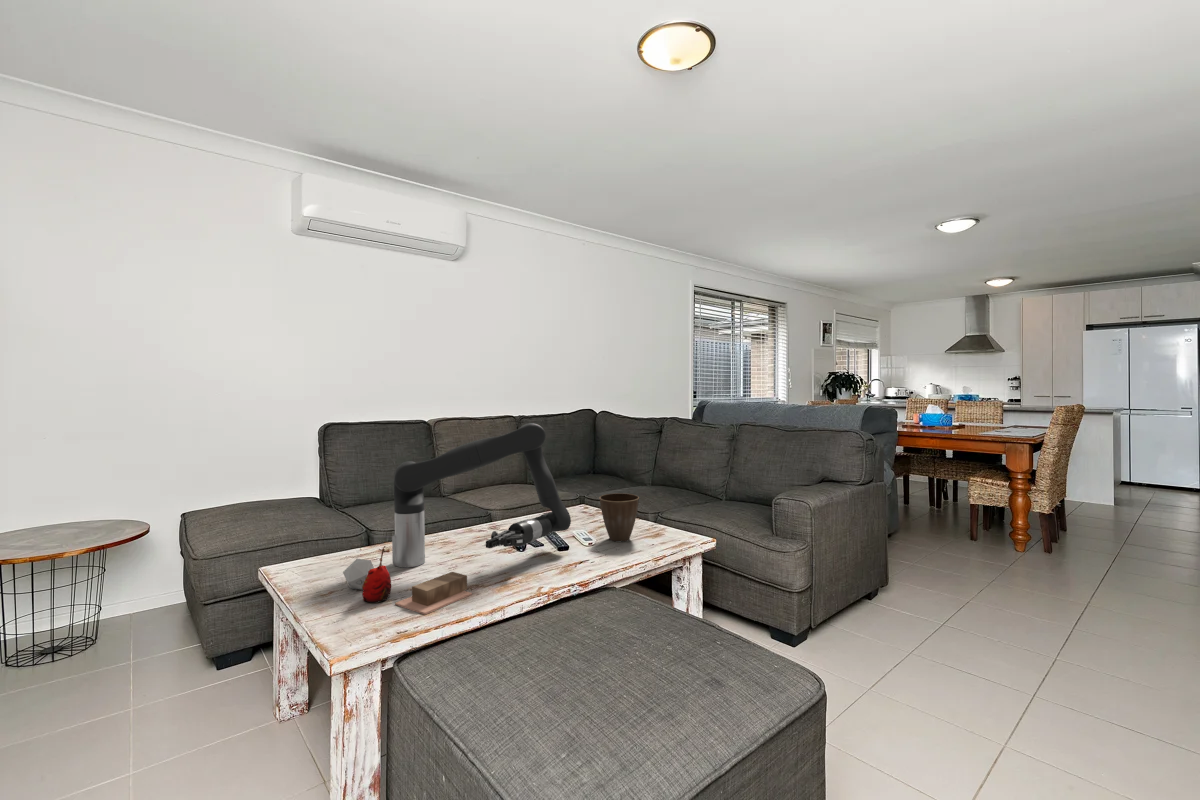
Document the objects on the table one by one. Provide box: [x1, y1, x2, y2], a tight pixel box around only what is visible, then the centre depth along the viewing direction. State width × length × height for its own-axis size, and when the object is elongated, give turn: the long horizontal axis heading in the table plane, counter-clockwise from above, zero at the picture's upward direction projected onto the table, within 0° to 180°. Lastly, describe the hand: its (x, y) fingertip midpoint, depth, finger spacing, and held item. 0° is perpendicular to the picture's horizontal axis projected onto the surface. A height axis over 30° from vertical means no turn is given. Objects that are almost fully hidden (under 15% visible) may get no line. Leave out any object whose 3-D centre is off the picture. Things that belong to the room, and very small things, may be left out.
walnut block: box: [411, 571, 468, 606], centre depth 151 cm, size 4×6×14 cm
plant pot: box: [599, 492, 640, 542], centre depth 208 cm, size 15×15×16 cm
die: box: [342, 558, 375, 591], centre depth 159 cm, size 8×9×10 cm
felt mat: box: [394, 590, 473, 616], centre depth 150 cm, size 16×12×1 cm
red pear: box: [361, 545, 392, 604], centre depth 150 cm, size 8×7×15 cm
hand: (487, 544), depth 166 cm, fingers closed
